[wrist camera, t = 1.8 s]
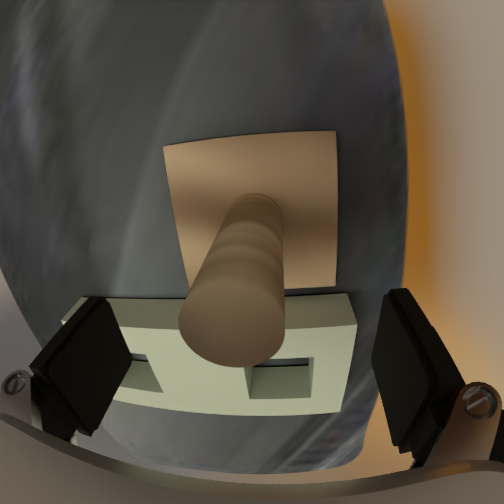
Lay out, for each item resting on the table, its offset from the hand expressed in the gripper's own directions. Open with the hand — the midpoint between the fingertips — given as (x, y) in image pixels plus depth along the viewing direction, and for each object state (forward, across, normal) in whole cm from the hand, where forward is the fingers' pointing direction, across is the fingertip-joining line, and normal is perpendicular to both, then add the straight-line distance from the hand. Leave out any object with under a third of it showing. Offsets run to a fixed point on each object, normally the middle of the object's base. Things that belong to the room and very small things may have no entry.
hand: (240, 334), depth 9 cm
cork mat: (+10, 0, -1) cm, 10 cm away
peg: (+9, 0, -1) cm, 9 cm away
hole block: (+10, +5, +10) cm, 15 cm away
